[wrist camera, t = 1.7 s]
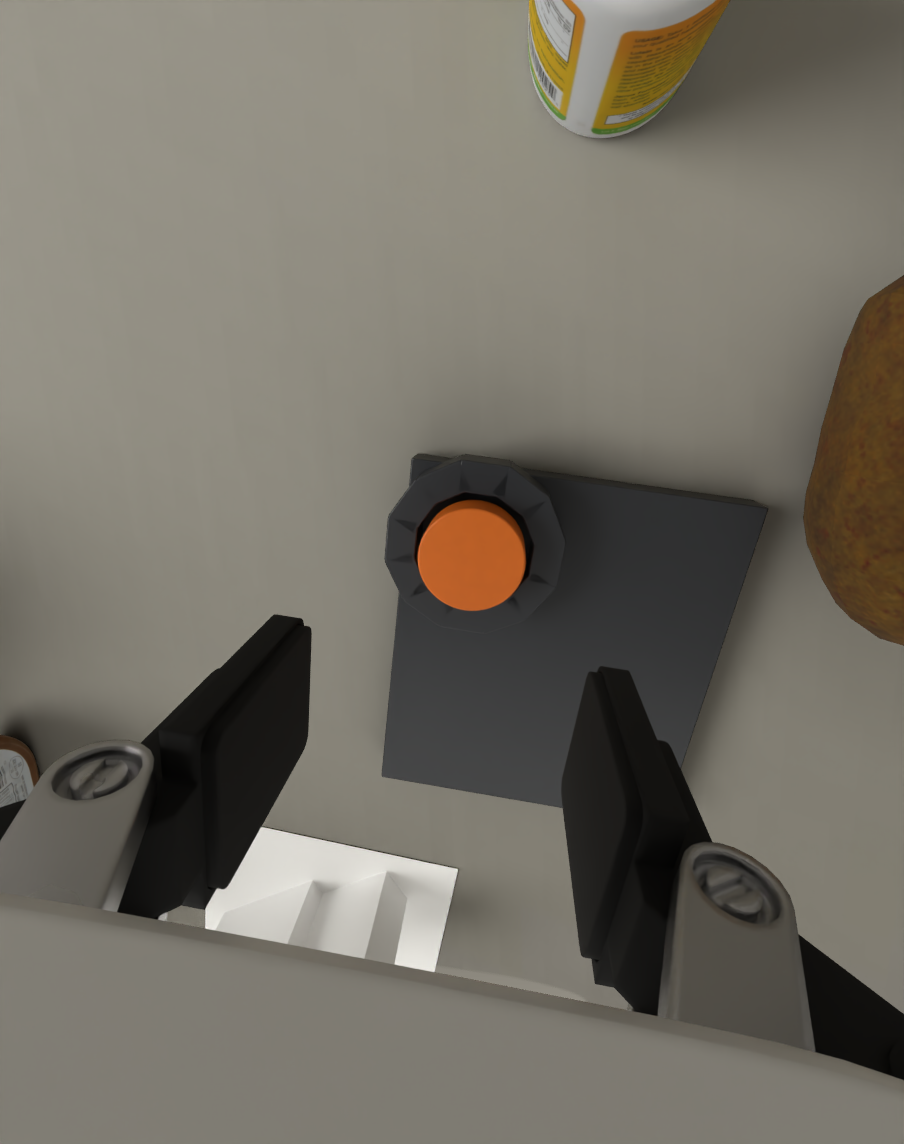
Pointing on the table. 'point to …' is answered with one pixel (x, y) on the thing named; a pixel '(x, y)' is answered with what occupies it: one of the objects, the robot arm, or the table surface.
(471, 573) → the button
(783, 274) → the table surface
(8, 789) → the tin
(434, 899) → the napkin holder
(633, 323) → the table surface
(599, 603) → the dark grey button base
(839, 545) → the potato
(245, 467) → the table surface
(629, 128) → the supplement bottle
